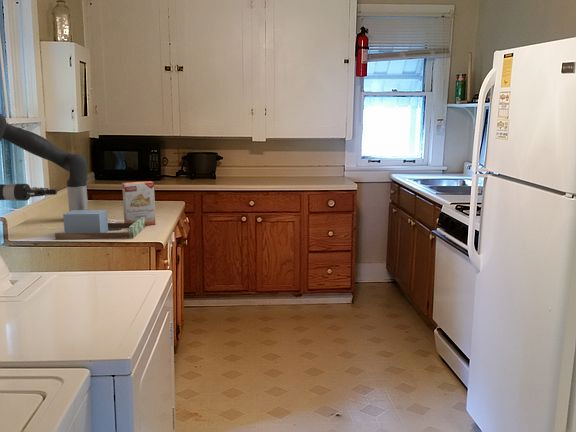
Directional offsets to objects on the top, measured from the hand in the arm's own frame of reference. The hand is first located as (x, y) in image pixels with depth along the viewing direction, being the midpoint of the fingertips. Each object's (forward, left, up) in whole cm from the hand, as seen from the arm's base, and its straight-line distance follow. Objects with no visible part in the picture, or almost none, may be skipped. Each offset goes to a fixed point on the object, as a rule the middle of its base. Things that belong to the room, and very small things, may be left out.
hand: (56, 192), depth 247 cm
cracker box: (-17, +32, -19) cm, 41 cm away
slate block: (0, +12, -19) cm, 23 cm away
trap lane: (0, +19, -19) cm, 27 cm away
